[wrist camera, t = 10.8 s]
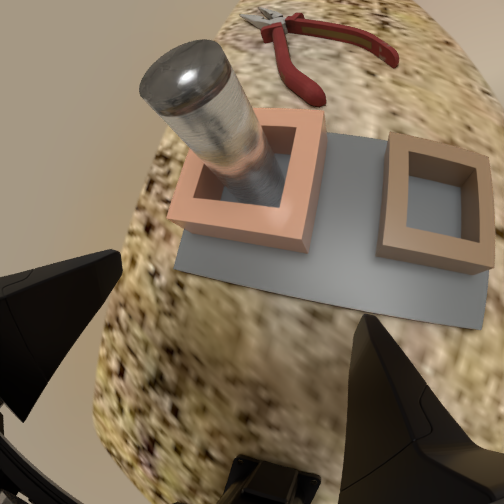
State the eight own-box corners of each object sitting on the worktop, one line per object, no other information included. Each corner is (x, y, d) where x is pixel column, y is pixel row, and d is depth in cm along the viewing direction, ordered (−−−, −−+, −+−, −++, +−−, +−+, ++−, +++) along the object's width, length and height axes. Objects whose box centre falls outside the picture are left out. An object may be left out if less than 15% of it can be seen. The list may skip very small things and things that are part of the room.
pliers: (286, 3, 26) (282, -11, 24) (403, 68, 20) (405, 49, 17) (215, 37, 28) (207, 23, 26) (314, 116, 21) (311, 96, 19)
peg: (292, 198, 19) (231, 70, 8) (242, 217, 19) (139, 117, 9) (275, 156, 20) (212, 29, 9) (230, 175, 20) (139, 68, 10)
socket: (308, 253, 18) (301, 239, 14) (192, 233, 20) (166, 218, 17) (327, 141, 19) (324, 110, 15) (222, 135, 21) (204, 109, 18)
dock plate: (474, 329, 14) (503, 331, 10) (180, 270, 21) (149, 261, 17) (480, 171, 16) (500, 145, 12) (221, 134, 23) (201, 106, 19)
